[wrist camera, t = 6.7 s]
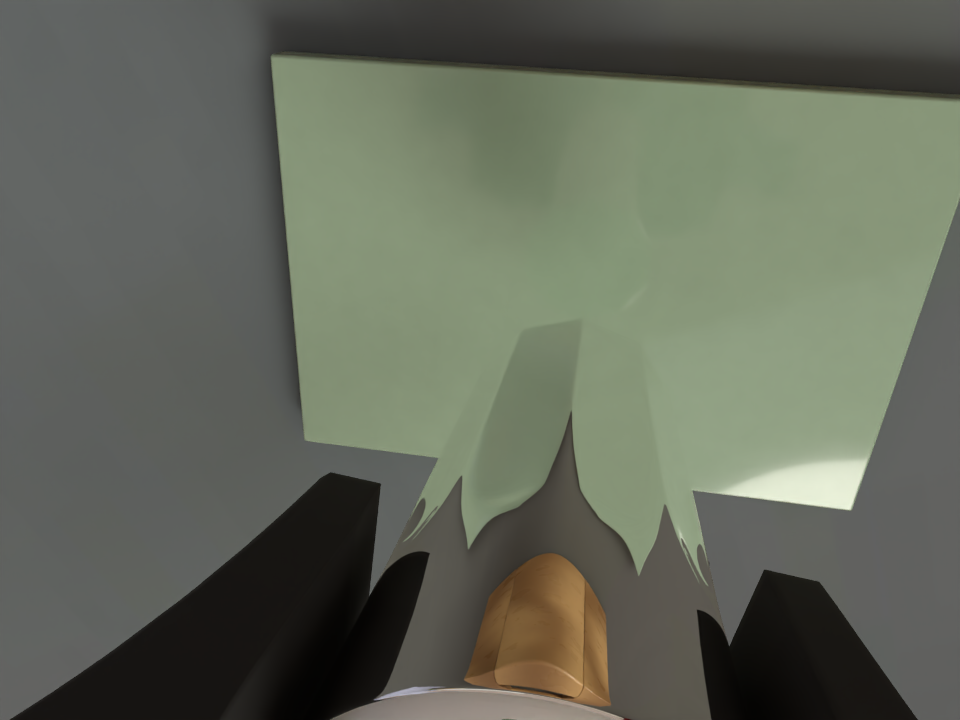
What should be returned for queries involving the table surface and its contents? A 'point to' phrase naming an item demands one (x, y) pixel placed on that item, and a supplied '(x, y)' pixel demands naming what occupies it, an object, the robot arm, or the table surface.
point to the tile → (613, 249)
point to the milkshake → (547, 558)
